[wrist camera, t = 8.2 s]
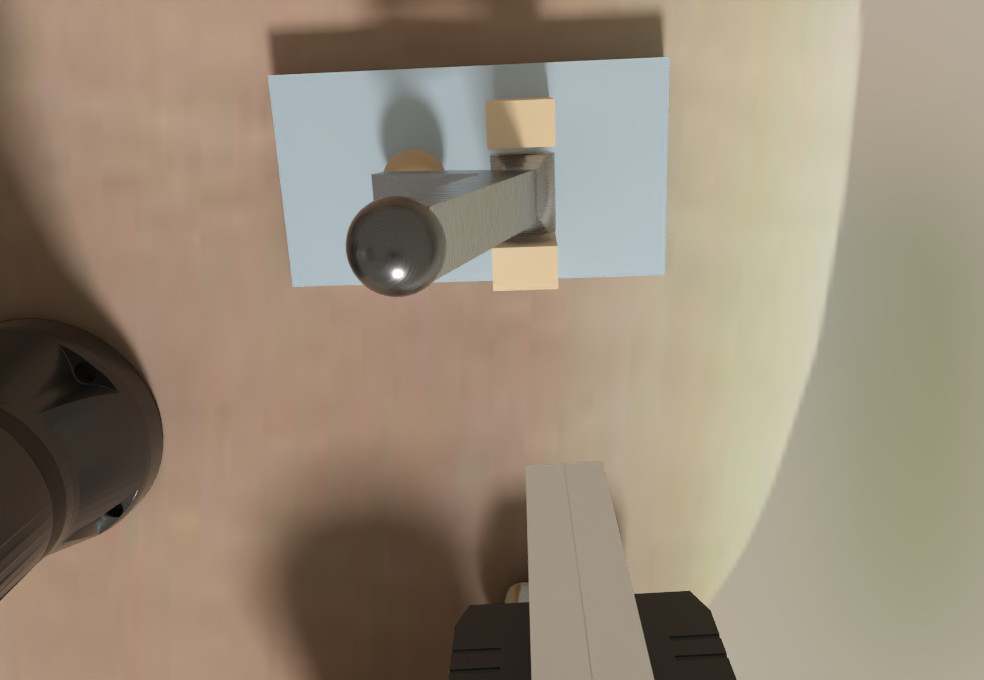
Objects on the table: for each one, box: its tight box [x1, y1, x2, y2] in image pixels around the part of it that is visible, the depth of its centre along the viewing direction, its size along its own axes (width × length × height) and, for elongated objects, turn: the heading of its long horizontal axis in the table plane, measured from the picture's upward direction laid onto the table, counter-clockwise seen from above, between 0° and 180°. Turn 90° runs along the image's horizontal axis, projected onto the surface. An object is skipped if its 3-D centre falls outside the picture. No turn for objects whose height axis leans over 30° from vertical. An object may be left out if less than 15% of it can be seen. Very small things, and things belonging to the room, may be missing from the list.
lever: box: [346, 151, 556, 297], centre depth 33 cm, size 9×4×17 cm, turn 94°
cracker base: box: [268, 57, 670, 291], centre depth 42 cm, size 22×12×12 cm, turn 93°
